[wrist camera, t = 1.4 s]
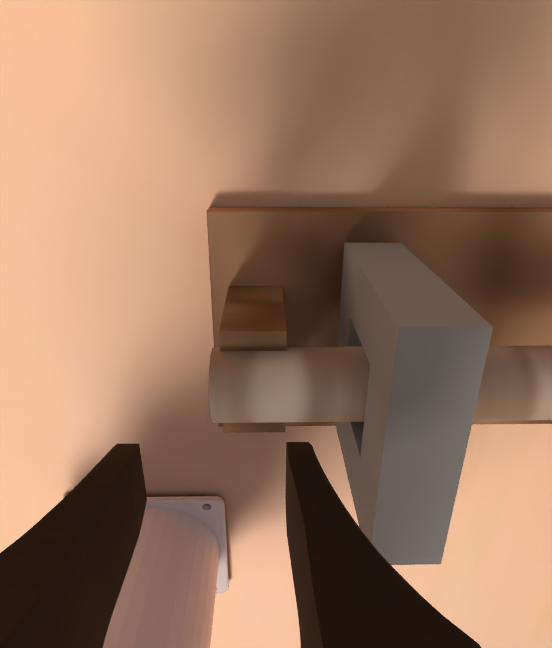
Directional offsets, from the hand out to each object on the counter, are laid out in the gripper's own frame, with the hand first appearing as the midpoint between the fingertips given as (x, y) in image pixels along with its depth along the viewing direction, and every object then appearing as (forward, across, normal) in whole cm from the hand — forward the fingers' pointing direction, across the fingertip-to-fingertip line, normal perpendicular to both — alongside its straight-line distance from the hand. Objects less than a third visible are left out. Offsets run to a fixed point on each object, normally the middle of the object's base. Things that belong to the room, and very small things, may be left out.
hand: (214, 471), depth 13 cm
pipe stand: (+10, -11, 0) cm, 15 cm away
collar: (+9, -6, 0) cm, 11 cm away
